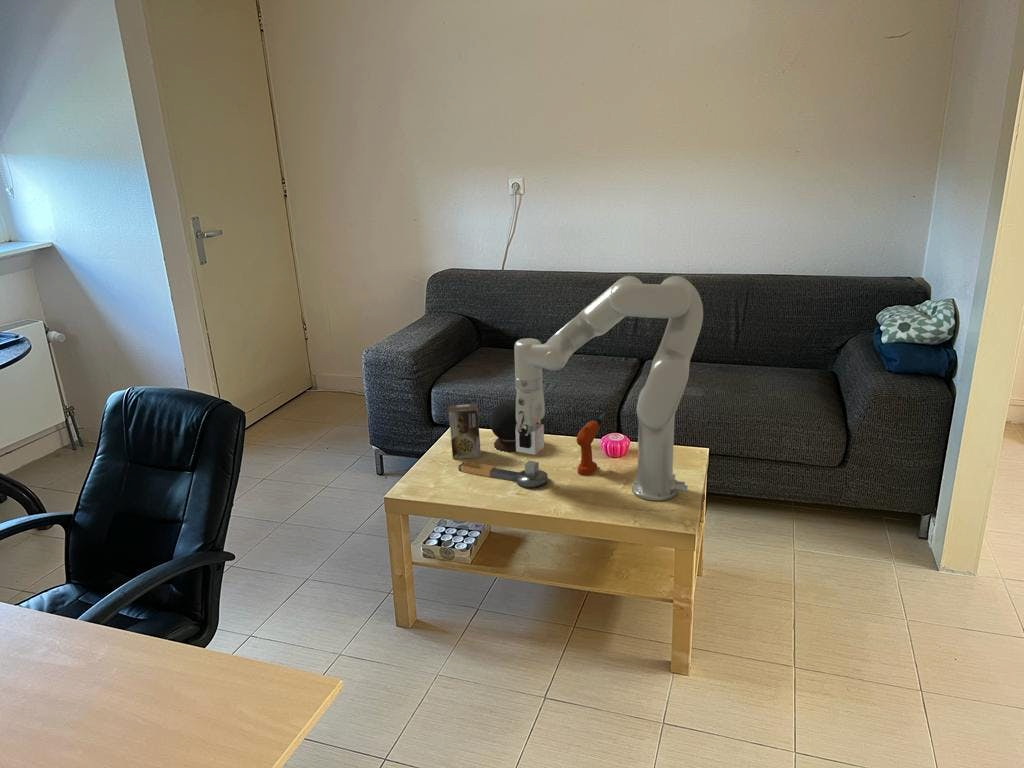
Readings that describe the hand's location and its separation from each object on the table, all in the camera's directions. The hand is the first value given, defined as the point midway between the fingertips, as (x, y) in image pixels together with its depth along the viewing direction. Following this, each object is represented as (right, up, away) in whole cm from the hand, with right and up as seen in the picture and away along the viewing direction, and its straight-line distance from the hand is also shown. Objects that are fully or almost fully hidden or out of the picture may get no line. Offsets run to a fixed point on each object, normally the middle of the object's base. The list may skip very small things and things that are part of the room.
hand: (530, 442), depth 208 cm
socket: (0, -2, +1) cm, 2 cm away
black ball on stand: (-5, -4, +30) cm, 31 cm away
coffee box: (-20, -6, +25) cm, 32 cm away
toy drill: (+20, -8, +14) cm, 25 cm away
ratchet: (-8, -11, +8) cm, 16 cm away
